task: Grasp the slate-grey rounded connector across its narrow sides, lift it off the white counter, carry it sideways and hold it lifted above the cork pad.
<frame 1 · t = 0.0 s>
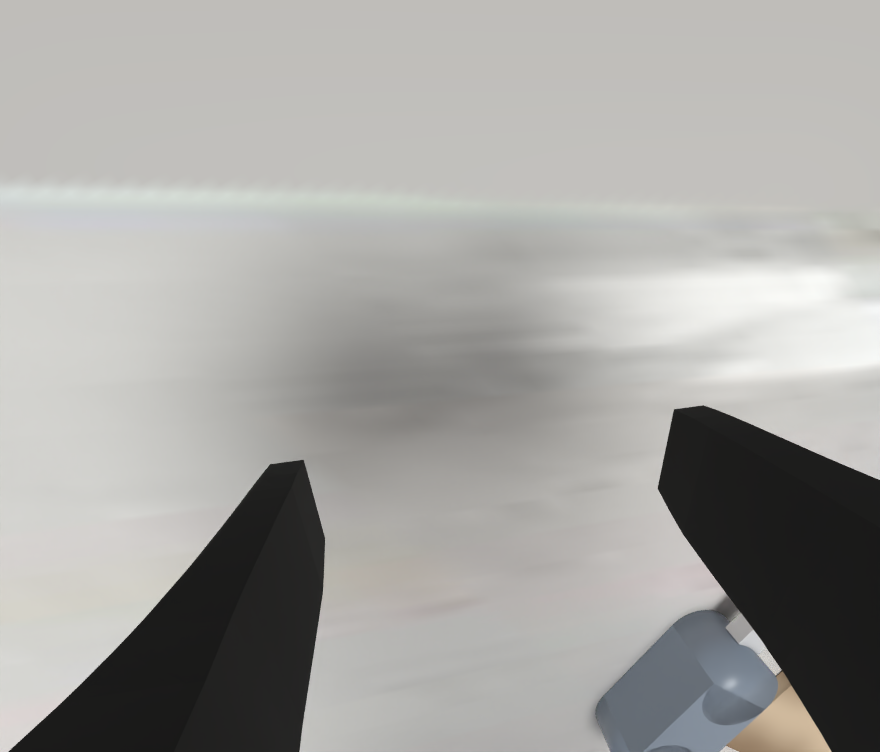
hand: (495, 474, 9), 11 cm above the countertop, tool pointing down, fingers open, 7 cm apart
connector: (661, 672, 27), on the countertop
cork pad: (842, 699, 30), on the countertop
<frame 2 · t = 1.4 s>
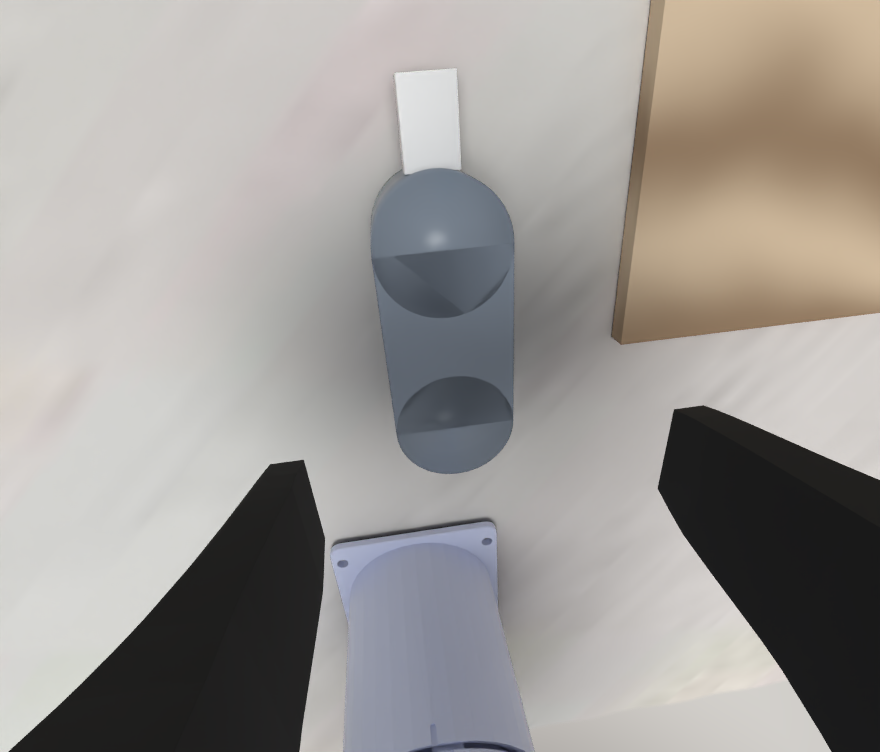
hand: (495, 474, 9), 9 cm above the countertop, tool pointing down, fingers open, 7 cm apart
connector: (436, 308, 17), on the countertop
cork pad: (793, 161, 16), on the countertop
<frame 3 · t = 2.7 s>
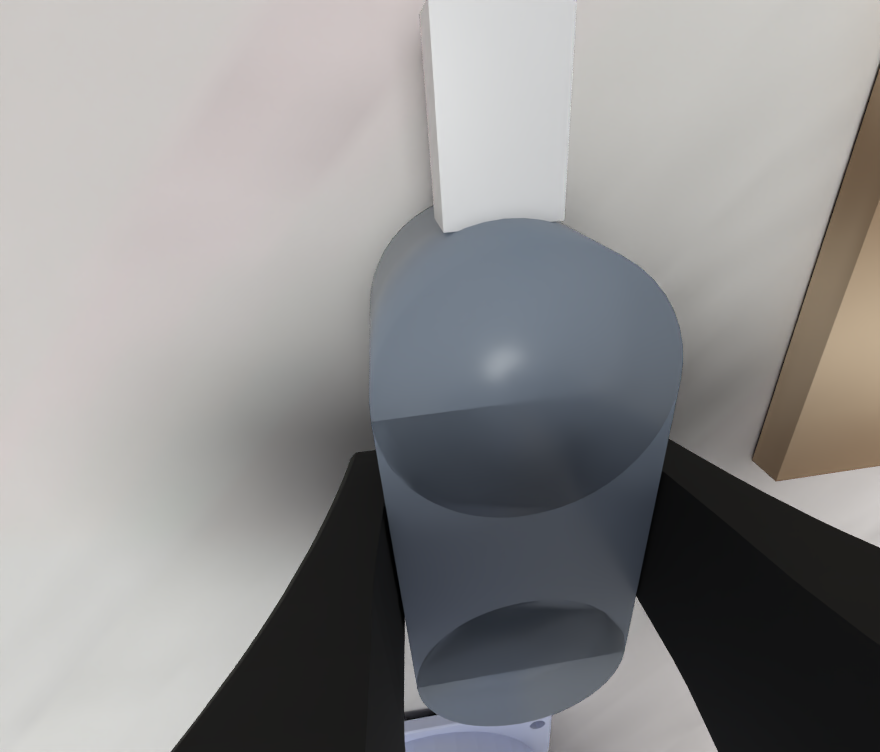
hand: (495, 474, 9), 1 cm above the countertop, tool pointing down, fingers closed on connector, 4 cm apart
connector: (480, 432, 10), on the countertop, touching gripper
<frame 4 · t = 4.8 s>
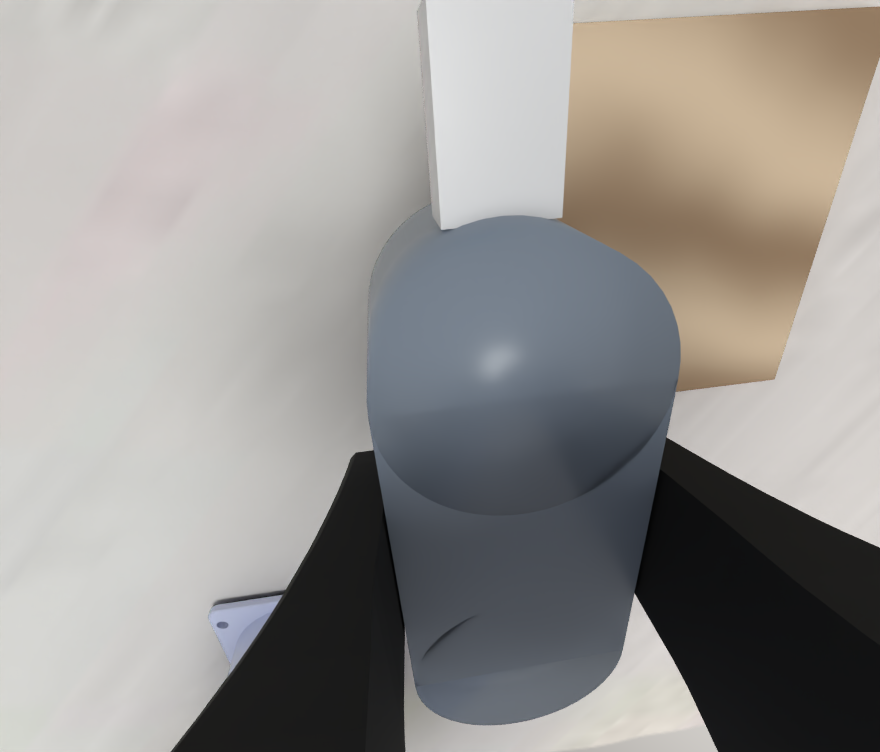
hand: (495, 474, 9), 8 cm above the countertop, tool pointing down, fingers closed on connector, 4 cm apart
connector: (478, 431, 10), point 7 cm above the countertop, touching gripper
cork pad: (645, 237, 16), on the countertop
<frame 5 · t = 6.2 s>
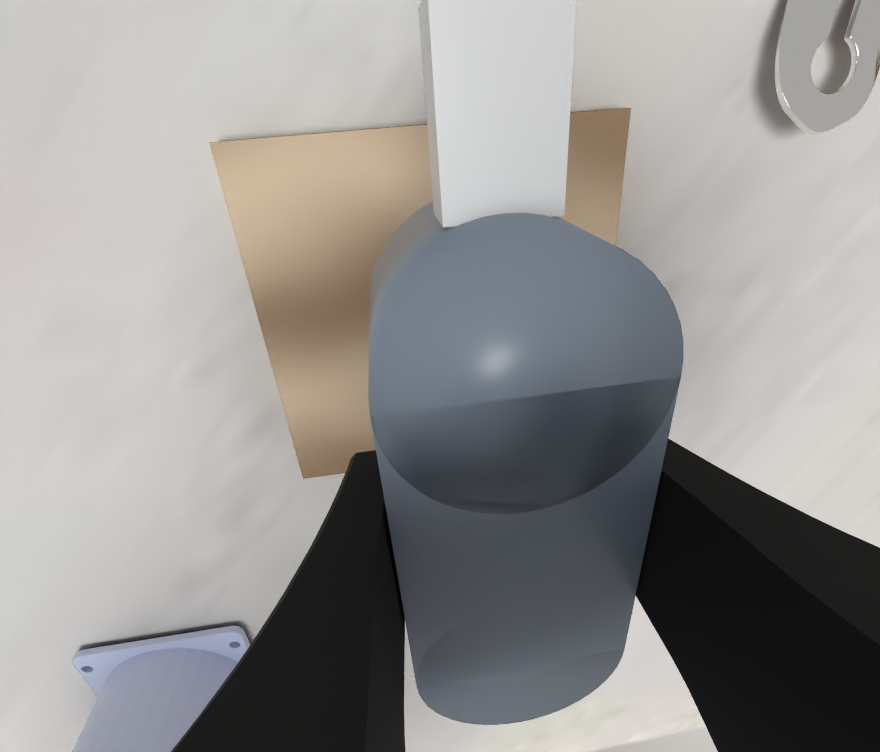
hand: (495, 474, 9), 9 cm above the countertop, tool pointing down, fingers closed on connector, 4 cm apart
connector: (479, 430, 10), point 7 cm above the countertop, touching gripper
cork pad: (439, 313, 17), on the countertop
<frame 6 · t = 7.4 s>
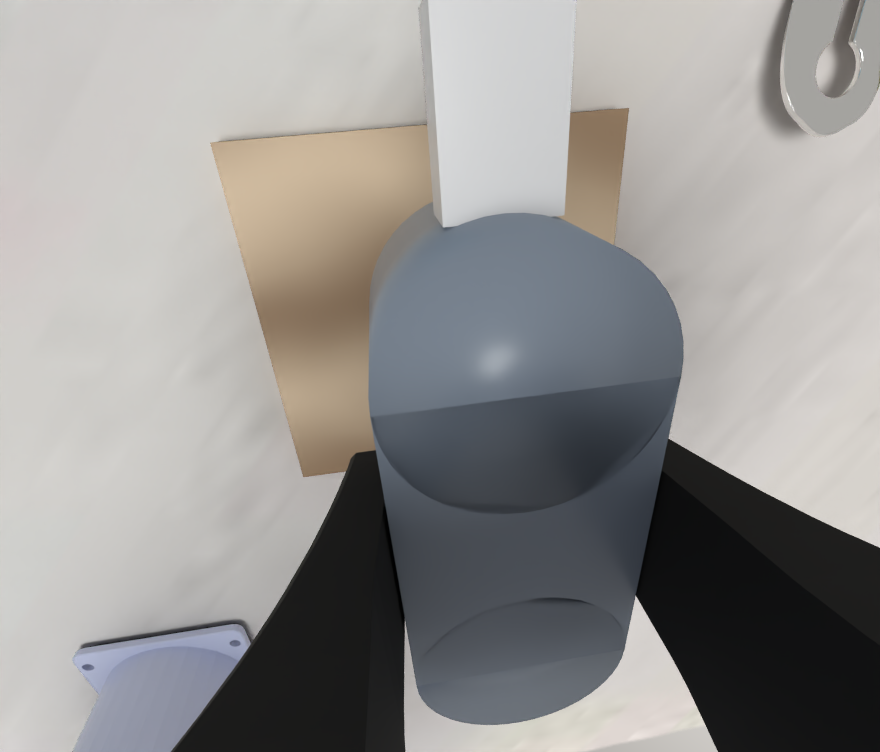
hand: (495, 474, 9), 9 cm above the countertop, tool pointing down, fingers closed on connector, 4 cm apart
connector: (479, 430, 10), point 7 cm above the countertop, touching gripper
cork pad: (438, 312, 17), on the countertop
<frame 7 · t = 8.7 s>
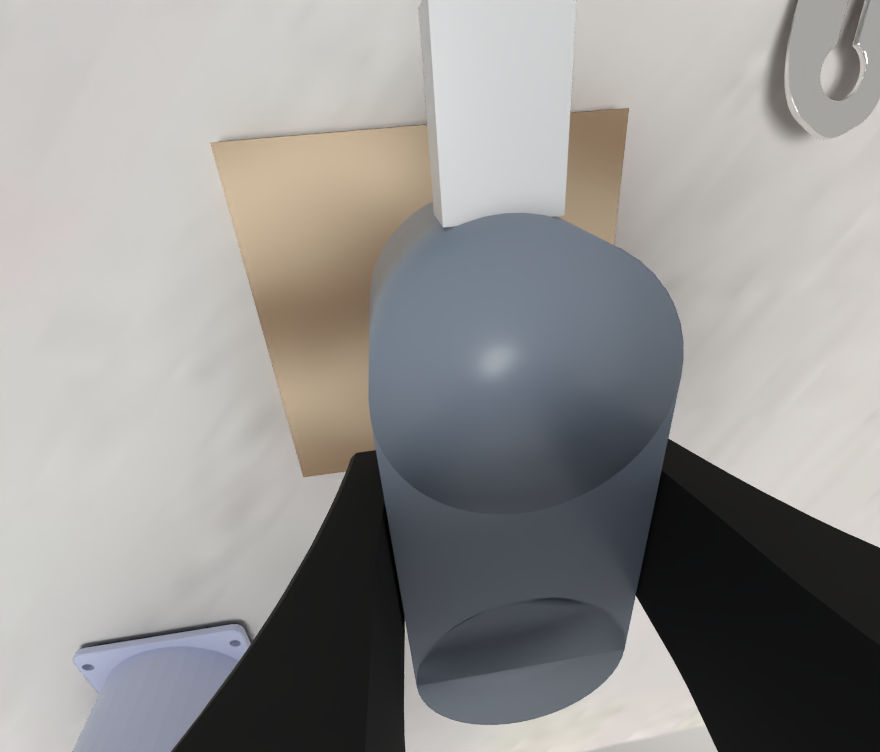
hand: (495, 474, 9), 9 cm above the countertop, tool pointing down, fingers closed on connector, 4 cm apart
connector: (479, 430, 10), point 7 cm above the countertop, touching gripper
cork pad: (438, 312, 17), on the countertop
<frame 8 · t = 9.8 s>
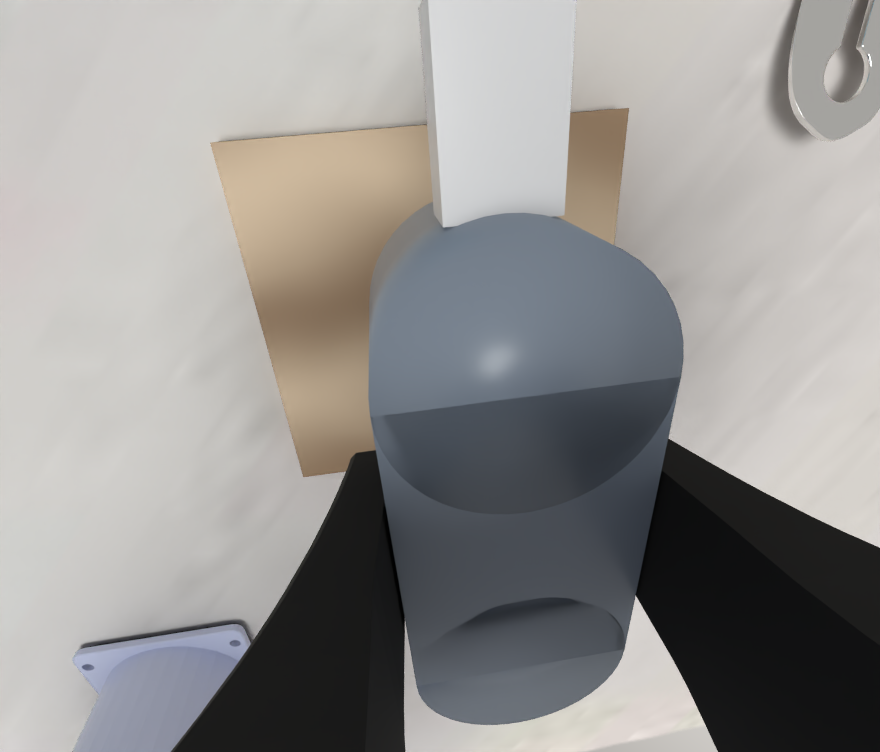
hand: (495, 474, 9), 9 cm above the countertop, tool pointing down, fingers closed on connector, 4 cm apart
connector: (479, 430, 10), point 7 cm above the countertop, touching gripper
cork pad: (438, 312, 17), on the countertop
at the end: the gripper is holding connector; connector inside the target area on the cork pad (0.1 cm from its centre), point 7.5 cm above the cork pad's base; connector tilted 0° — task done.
